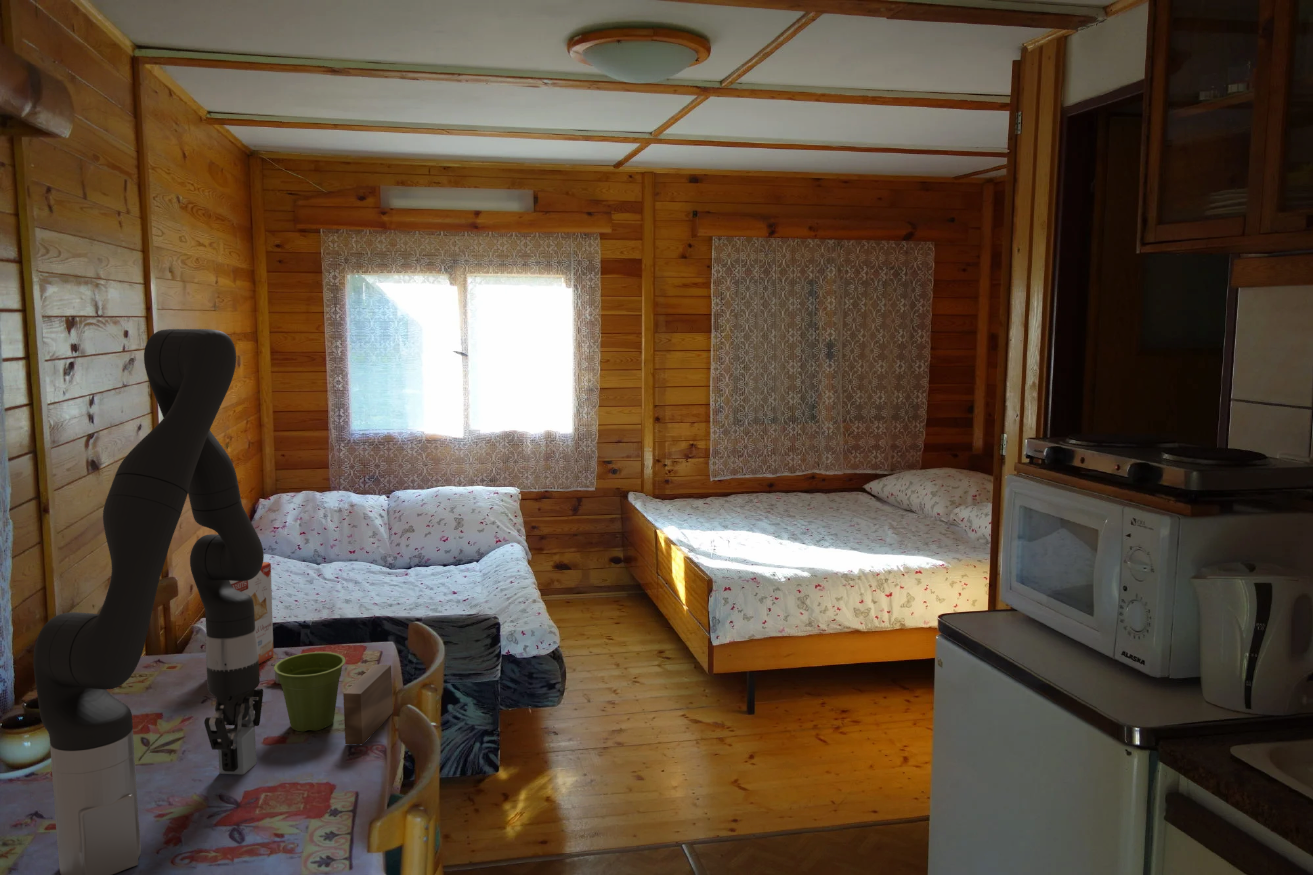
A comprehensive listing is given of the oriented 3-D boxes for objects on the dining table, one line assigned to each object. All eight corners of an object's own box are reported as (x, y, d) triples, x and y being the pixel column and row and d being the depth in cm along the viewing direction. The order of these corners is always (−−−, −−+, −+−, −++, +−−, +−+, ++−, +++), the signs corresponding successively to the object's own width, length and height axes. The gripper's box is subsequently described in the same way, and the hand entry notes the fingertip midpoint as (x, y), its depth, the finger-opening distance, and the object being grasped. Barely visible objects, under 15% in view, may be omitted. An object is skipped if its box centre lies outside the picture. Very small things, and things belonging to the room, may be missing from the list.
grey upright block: (243, 774, 149) (241, 737, 148) (219, 773, 149) (217, 737, 149) (256, 763, 153) (254, 727, 152) (232, 762, 153) (230, 726, 153)
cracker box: (235, 679, 190) (229, 577, 188) (208, 677, 191) (203, 576, 189) (276, 656, 204) (272, 561, 201) (251, 654, 205) (246, 559, 203)
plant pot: (262, 735, 163) (259, 672, 162) (300, 709, 175) (297, 650, 173) (326, 740, 161) (323, 676, 160) (359, 713, 173) (357, 653, 171)
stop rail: (345, 744, 159) (343, 693, 158) (376, 711, 173) (375, 664, 172) (362, 745, 159) (360, 693, 158) (392, 712, 173) (391, 664, 172)
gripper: (231, 676, 142) (237, 785, 144) (277, 645, 156) (282, 745, 158) (183, 675, 142) (190, 784, 144) (233, 644, 156) (238, 743, 158)
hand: (238, 763), depth 151 cm, fingers closed on grey upright block, 4 cm apart
